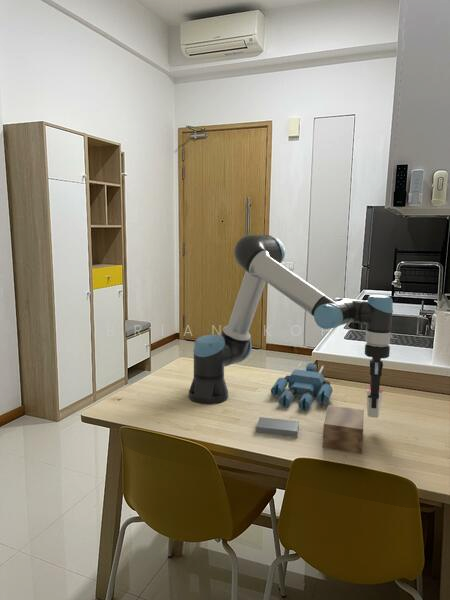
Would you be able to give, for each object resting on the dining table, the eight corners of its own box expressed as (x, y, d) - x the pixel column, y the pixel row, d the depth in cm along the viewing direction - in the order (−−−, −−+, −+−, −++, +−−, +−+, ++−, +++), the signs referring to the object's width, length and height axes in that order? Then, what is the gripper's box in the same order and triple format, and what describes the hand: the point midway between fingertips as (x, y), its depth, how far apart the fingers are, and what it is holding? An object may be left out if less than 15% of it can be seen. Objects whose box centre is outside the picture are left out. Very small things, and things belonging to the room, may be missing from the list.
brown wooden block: (322, 447, 135) (323, 423, 134) (327, 427, 149) (328, 405, 148) (361, 453, 131) (363, 429, 130) (362, 432, 146) (363, 410, 145)
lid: (255, 434, 144) (256, 426, 144) (259, 424, 152) (259, 417, 151) (297, 438, 141) (297, 431, 141) (298, 428, 149) (299, 421, 149)
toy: (265, 388, 167) (286, 358, 193) (265, 409, 170) (286, 377, 196) (325, 397, 159) (339, 364, 185) (324, 420, 161) (338, 384, 187)
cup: (377, 412, 150) (380, 377, 148) (384, 418, 145) (386, 382, 143) (362, 412, 150) (364, 377, 148) (367, 418, 145) (370, 382, 143)
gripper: (391, 351, 134) (385, 426, 138) (388, 339, 151) (384, 405, 155) (364, 349, 137) (360, 422, 140) (365, 337, 154) (361, 402, 157)
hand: (372, 413), depth 147 cm, fingers closed on cup, 5 cm apart
